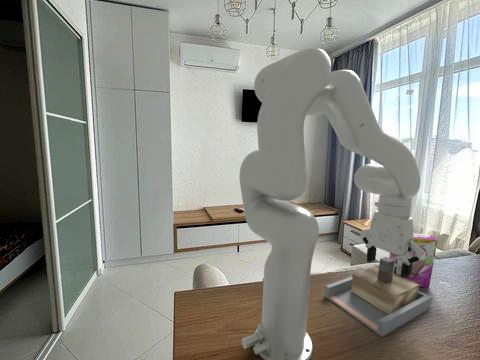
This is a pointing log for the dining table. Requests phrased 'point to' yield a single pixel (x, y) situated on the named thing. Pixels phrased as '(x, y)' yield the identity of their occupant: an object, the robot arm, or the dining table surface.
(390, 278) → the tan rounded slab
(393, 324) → the bay
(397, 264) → the candy bar box
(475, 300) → the dining table surface
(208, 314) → the dining table surface
